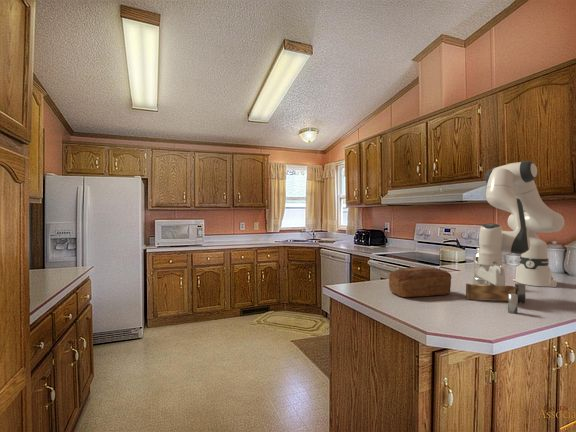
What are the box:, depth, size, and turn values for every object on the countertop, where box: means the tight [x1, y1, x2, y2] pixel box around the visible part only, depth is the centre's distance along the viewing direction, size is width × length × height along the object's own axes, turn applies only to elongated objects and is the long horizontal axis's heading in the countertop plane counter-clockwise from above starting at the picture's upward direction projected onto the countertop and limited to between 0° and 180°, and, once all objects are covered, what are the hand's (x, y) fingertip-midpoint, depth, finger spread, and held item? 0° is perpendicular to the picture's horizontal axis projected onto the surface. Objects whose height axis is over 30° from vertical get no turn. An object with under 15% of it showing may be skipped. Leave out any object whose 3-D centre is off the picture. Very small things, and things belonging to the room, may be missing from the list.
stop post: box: [507, 293, 519, 315], centre depth 117 cm, size 3×3×7 cm
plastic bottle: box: [472, 247, 486, 285], centre depth 158 cm, size 6×7×20 cm
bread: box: [388, 266, 452, 298], centre depth 143 cm, size 14×28×12 cm, turn 104°
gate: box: [465, 283, 515, 302], centre depth 133 cm, size 18×2×6 cm, turn 80°
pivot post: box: [514, 282, 526, 304], centre depth 131 cm, size 4×4×8 cm
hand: (489, 291), depth 136 cm, fingers closed
